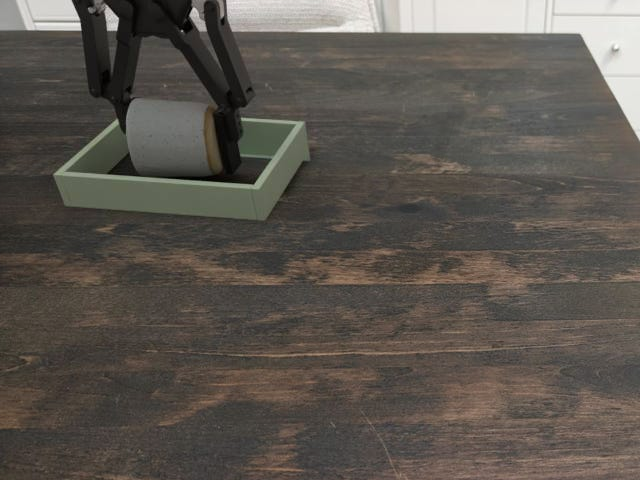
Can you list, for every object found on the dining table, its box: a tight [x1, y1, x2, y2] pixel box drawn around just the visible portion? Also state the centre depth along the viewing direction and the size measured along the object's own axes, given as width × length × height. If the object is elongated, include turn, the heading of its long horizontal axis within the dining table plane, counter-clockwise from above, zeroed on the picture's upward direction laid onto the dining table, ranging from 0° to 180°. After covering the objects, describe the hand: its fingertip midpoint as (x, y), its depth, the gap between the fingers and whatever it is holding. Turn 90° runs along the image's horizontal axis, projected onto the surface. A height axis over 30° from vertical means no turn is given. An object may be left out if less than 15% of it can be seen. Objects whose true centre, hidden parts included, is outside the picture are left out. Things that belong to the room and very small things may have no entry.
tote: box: [52, 117, 311, 222], centre depth 79 cm, size 21×16×5 cm
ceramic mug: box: [126, 97, 225, 178], centre depth 77 cm, size 11×8×8 cm
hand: (191, 165), depth 79 cm, fingers closed on ceramic mug, 9 cm apart
